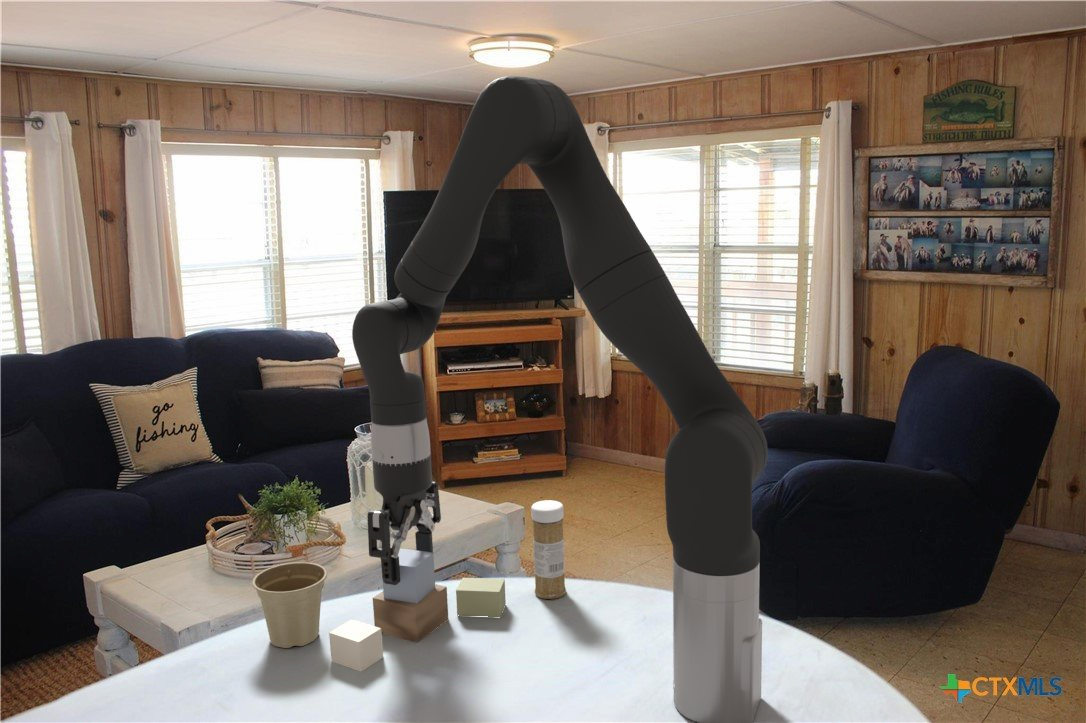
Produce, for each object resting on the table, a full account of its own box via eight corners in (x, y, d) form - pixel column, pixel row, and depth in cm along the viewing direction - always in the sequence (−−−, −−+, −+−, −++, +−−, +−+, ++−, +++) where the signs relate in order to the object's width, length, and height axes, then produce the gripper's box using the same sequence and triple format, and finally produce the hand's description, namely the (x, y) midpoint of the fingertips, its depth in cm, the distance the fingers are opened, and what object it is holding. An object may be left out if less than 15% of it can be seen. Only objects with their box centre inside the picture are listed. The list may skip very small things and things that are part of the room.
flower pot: (341, 621, 123) (336, 562, 121) (317, 656, 113) (312, 592, 112) (275, 620, 124) (269, 561, 122) (246, 654, 114) (240, 591, 113)
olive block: (505, 605, 126) (504, 579, 125) (500, 619, 122) (499, 591, 121) (464, 604, 127) (462, 577, 126) (457, 617, 123) (456, 590, 122)
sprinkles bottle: (561, 584, 132) (559, 497, 129) (569, 598, 127) (566, 508, 125) (531, 588, 131) (528, 500, 128) (538, 602, 126) (534, 511, 124)
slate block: (435, 587, 121) (433, 552, 120) (417, 603, 117) (415, 567, 116) (402, 582, 123) (400, 548, 122) (383, 598, 118) (381, 562, 117)
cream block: (383, 657, 113) (381, 628, 112) (360, 672, 110) (358, 642, 109) (354, 648, 116) (351, 619, 115) (331, 662, 112) (329, 632, 111)
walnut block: (448, 621, 122) (446, 586, 121) (417, 644, 116) (415, 608, 115) (407, 610, 126) (405, 577, 125) (375, 632, 120) (372, 597, 119)
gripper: (397, 471, 108) (405, 597, 111) (452, 440, 121) (459, 553, 124) (345, 466, 111) (354, 588, 114) (404, 436, 124) (412, 547, 127)
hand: (409, 570), depth 119 cm, fingers open, 8 cm apart
